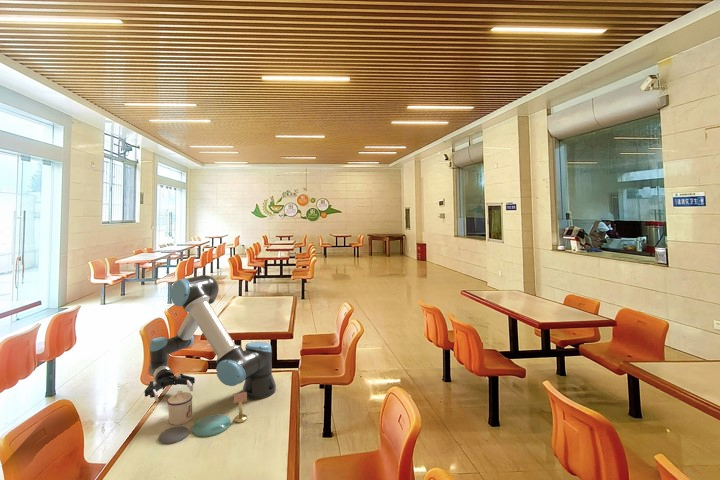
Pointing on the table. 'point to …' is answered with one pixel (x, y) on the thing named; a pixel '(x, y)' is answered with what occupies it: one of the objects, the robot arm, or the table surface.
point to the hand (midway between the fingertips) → (175, 393)
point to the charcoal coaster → (174, 435)
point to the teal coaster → (211, 425)
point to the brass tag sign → (240, 406)
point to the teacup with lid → (180, 408)
